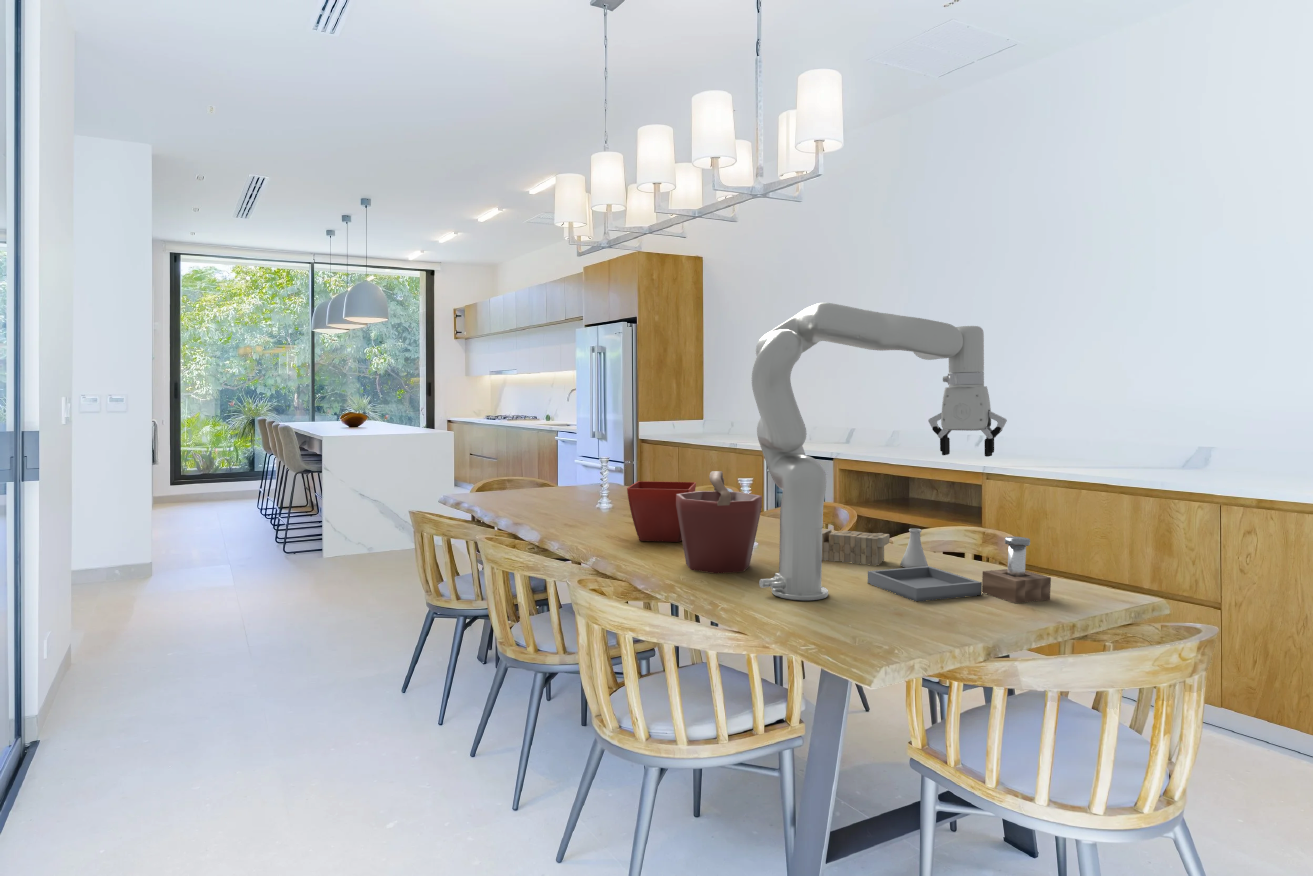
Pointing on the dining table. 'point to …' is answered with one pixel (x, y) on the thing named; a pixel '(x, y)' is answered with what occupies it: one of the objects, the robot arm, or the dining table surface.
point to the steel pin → (1016, 555)
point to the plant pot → (657, 509)
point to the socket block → (1016, 586)
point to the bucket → (718, 527)
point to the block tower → (854, 546)
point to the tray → (924, 583)
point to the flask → (914, 551)
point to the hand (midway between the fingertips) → (966, 455)
